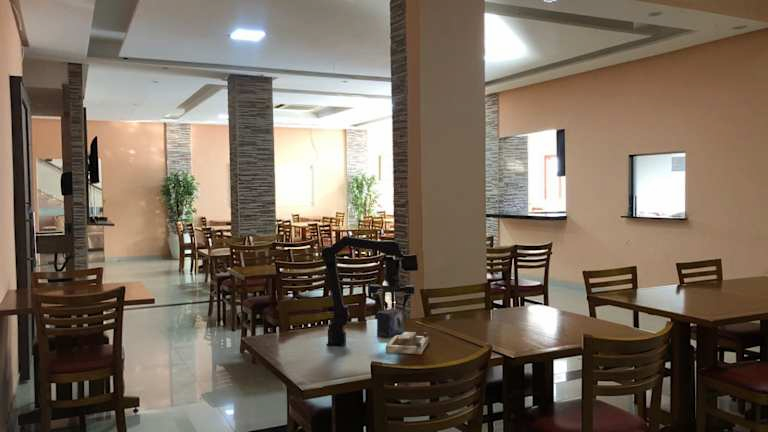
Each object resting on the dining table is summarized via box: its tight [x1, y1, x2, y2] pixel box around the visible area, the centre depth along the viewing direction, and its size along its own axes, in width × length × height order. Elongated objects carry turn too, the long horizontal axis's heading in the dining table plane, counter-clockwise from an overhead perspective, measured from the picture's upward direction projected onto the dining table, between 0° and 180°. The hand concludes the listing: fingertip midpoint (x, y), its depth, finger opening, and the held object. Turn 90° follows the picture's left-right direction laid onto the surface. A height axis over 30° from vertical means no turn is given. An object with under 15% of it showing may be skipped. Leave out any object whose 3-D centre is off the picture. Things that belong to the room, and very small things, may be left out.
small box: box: [376, 308, 403, 339], centre depth 263 cm, size 11×6×10 cm, turn 143°
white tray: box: [385, 331, 429, 355], centre depth 242 cm, size 14×19×4 cm
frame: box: [397, 331, 417, 346], centre depth 242 cm, size 5×12×5 cm, turn 167°
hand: (392, 310), depth 250 cm, fingers open, 9 cm apart
